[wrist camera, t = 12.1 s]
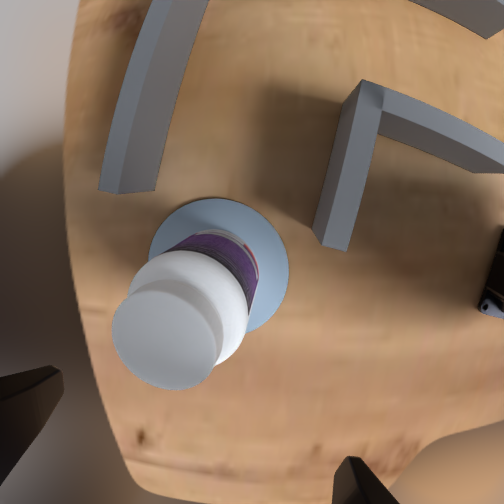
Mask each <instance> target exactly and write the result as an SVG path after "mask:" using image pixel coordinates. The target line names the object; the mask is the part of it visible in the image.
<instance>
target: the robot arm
mask: <svg viewBox="0 0 504 504" xmlns="http://www.w3.org/2000/svg"><path fill="white" fill-rule="evenodd" d="M485 304H486V305H485ZM484 305H485V307H484V308H483V306H484ZM478 310H479V311H480V312H481V313H483V314H486V315H490V316H494V317H498V318H502V319H504V229H503V231H502V234H501V238H500V241H499V245H498V248H497V252H496V255H495V258H494V262H493V265H492V268H491V271H490V274H489V277H488V280H487V283H486V286H485V288H484V291H483V294H482V297H481V299H480V302H479V304H478ZM63 393H64V382H63V372H62V370H60V369H59V368H57V367H55V366H53V365H48V366H44V367H40V368H37V369H32V370H28V371H24V372H20V373H16V374H12V375H7V376H3V377H0V486H1V484H2V483H3V481H4V480H5V479H6V477H7V476H8V475H9V473H10V472H11V470H12V469H13V468H14V466H15V465H16V463H17V462H18V461H19V459H20V458H21V457H22V455H23V454H24V453H25V451H26V450H27V449H28V447H29V446H30V445H31V443H32V442H33V441H34V439H35V438H36V437H37V436H38V434H39V433H40V432H41V430H42V429H43V427H44V426H45V424H46V422H47V421H48V419H49V417H50V415H51V414H52V412H53V410H54V409H55V407H56V406H57V404H58V402H59V401H60V399H61V397H62V395H63ZM332 504H399V503H398V501H397V500H396V499H395V498H394V497H393V495H392V494H391V493H390V492H389V491H388V490H387V488H386V487H385V486H384V485H383V484H382V483H381V481H380V480H379V479H378V478H377V477H376V476H375V474H374V473H373V472H372V471H371V470H370V468H369V467H368V466H367V465H366V464H365V462H364V461H363V460H362V459H361V458H360V457H355V456H347V457H346V458H345V459H344V460H343V462H342V463H341V465H340V466H339V468H338V469H337V470H336V472H335V475H334V483H333V495H332Z"/></svg>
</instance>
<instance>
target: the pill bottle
mask: <svg viewBox="0 0 504 504" xmlns="http://www.w3.org/2000/svg"><path fill="white" fill-rule="evenodd" d="M258 282H259V267H258V263H257V260H256V257H255V255H254V253H253V251H252V250H251V248H250V247H249V246H248V244H247V243H246V242H245V241H244V240H242V239H241V238H240V237H238V236H237V235H235V234H233V233H230V232H228V231H224V230H219V229H209V230H204V231H200V232H197V233H195V234H193V235H191V236H189V237H187V238H186V239H184V240H183V241H181V242H179V243H178V244H176V245H175V246H173V247H171V248H170V249H168V250H166V251H165V252H163V253H161V254H159V255H158V256H156V257H154V258H152V259H151V260H150V261H149V262H147V263H146V264H145V265H144V266H143V267H142V268H141V269H140V270H139V271H138V272H137V274H136V275H135V276H134V278H133V280H132V282H131V284H130V287H129V291H128V296H127V298H126V299H125V300H124V301H123V302H122V303H121V304H120V305H119V307H118V308H117V310H116V312H115V314H114V318H113V322H112V338H113V343H114V346H115V349H116V351H117V353H118V355H119V357H120V359H121V360H122V362H123V363H124V364H125V365H126V367H127V368H128V369H129V370H130V371H131V372H132V373H133V374H135V375H136V376H137V377H138V378H140V379H141V380H143V381H144V382H146V383H148V384H150V385H153V386H155V387H158V388H162V389H167V390H183V389H188V388H191V387H194V386H196V385H198V384H199V383H201V382H202V381H203V380H205V379H206V378H207V377H208V375H209V374H210V373H211V371H212V370H213V368H214V366H215V365H217V364H220V363H221V362H223V361H224V360H226V359H227V358H228V357H230V356H231V355H232V354H233V353H234V352H235V351H236V349H237V348H238V347H239V345H240V343H241V341H242V339H243V337H244V335H245V332H246V328H247V324H248V321H249V317H250V313H251V309H252V306H253V302H254V298H255V294H256V291H257V287H258Z"/></svg>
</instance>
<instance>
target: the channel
mask: <svg viewBox="0 0 504 504" xmlns="http://www.w3.org/2000/svg"><path fill="white" fill-rule="evenodd" d="M208 1H209V0H153V1H152V3H151V5H150V8H149V10H148V13H147V15H146V18H145V20H144V23H143V25H142V28H141V30H140V33H139V36H138V39H137V41H136V44H135V47H134V50H133V53H132V56H131V59H130V62H129V65H128V68H127V71H126V74H125V77H124V81H123V84H122V87H121V91H120V94H119V98H118V101H117V105H116V109H115V112H114V116H113V120H112V124H111V128H110V133H109V137H108V141H107V146H106V150H105V155H104V160H103V165H102V170H101V175H100V181H99V187H98V190H100V191H105V192H109V193H113V194H126V193H136V192H146V191H155V186H156V181H157V176H158V172H159V167H160V163H161V158H162V154H163V150H164V146H165V141H166V137H167V133H168V129H169V125H170V121H171V118H172V114H173V110H174V106H175V103H176V99H177V96H178V92H179V89H180V85H181V82H182V78H183V75H184V72H185V68H186V65H187V62H188V59H189V56H190V53H191V50H192V47H193V44H194V41H195V38H196V35H197V32H198V29H199V26H200V23H201V20H202V18H203V15H204V12H205V9H206V7H207V4H208ZM409 1H412V2H414V3H417V4H419V5H421V6H423V7H426V8H428V9H430V10H432V11H434V12H437V13H439V14H441V15H443V16H445V17H447V18H449V19H451V20H453V21H455V22H457V23H458V24H460V25H462V26H464V27H466V28H468V29H469V30H471V31H473V32H475V33H476V34H478V35H480V36H482V37H483V38H485V39H488V38H490V37H491V36H493V35H494V34H496V33H498V32H499V31H501V30H502V29H504V0H409ZM377 134H380V135H383V136H386V137H388V138H391V139H394V140H397V141H399V142H402V143H405V144H407V145H410V146H412V147H415V148H417V149H420V150H422V151H425V152H427V153H430V154H432V155H435V156H437V157H439V158H442V159H444V160H446V161H448V162H451V163H453V164H455V165H457V166H460V167H462V168H464V169H466V170H468V171H470V172H472V173H502V174H504V143H503V142H501V141H499V140H498V139H496V138H494V137H492V136H491V135H489V134H487V133H485V132H483V131H482V130H480V129H478V128H476V127H474V126H472V125H470V124H468V123H466V122H464V121H462V120H460V119H458V118H456V117H454V116H452V115H450V114H448V113H446V112H444V111H442V110H440V109H437V108H435V107H433V106H431V105H428V104H426V103H424V102H421V101H419V100H417V99H414V98H412V97H409V96H407V95H404V94H402V93H399V92H397V91H394V90H391V89H389V88H386V87H383V86H381V85H378V84H375V83H372V82H369V81H366V80H363V79H362V80H361V81H360V83H359V84H358V85H357V86H356V88H355V89H354V90H353V91H352V93H351V94H350V95H349V96H348V98H347V99H346V100H345V101H344V103H343V105H342V110H341V114H340V119H339V123H338V127H337V132H336V136H335V140H334V144H333V148H332V152H331V157H330V161H329V165H328V169H327V173H326V177H325V180H324V184H323V188H322V192H321V196H320V200H319V204H318V207H317V211H316V215H315V219H314V222H313V226H312V231H313V233H314V234H315V236H316V237H317V239H318V240H319V242H320V244H321V245H322V246H326V247H330V248H334V249H337V250H341V251H345V252H347V248H348V245H349V242H350V238H351V235H352V231H353V228H354V224H355V221H356V217H357V213H358V210H359V206H360V202H361V199H362V195H363V191H364V187H365V183H366V179H367V175H368V171H369V167H370V163H371V158H372V154H373V150H374V145H375V141H376V136H377Z"/></svg>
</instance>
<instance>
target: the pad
mask: <svg viewBox="0 0 504 504" xmlns="http://www.w3.org/2000/svg"><path fill="white" fill-rule="evenodd" d="M209 229H219V230H224V231H228V232H230V233H233V234H235V235H237V236H238V237H240V238H241V239H242V240H244V241H245V242H246V243H247V244H248V246H249V247H250V248H251V250H252V251H253V253H254V255H255V257H256V260H257V263H258V267H259V282H258V287H257V291H256V294H255V298H254V302H253V306H252V309H251V313H250V317H249V321H248V324H247V328H246V332H245V334H246V333H248V332H250V331H253V330H254V329H256V328H258V327H260V326H261V325H262V324H264V323H265V322H266V321H267V320H268V319H269V318H270V317H271V316H272V315H273V314H274V313H275V312H276V310H277V309H278V307H279V306H280V304H281V302H282V300H283V298H284V295H285V293H286V289H287V285H288V277H289V267H288V258H287V254H286V250H285V247H284V244H283V242H282V240H281V238H280V236H279V234H278V233H277V231H276V230H275V229H274V227H273V226H272V225H271V224H270V223H269V222H268V220H267V219H266V218H264V217H263V216H262V215H261V214H260V213H258V212H257V211H255V210H254V209H252V208H250V207H248V206H246V205H244V204H242V203H239V202H236V201H232V200H227V199H204V200H200V201H195V202H192V203H190V204H187V205H185V206H183V207H181V208H179V209H178V210H176V211H175V212H174V213H172V214H171V215H170V216H169V217H168V218H167V219H166V220H165V221H164V222H163V223H162V224H161V226H160V227H159V229H158V230H157V232H156V234H155V236H154V238H153V241H152V243H151V246H150V251H149V257H148V262H149V261H150V260H151V259H152V258H154V257H156V256H158V255H159V254H161V253H163V252H165V251H166V250H168V249H170V248H171V247H173V246H175V245H176V244H178V243H179V242H181V241H183V240H184V239H186V238H187V237H189V236H191V235H193V234H195V233H197V232H200V231H204V230H209Z"/></svg>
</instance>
